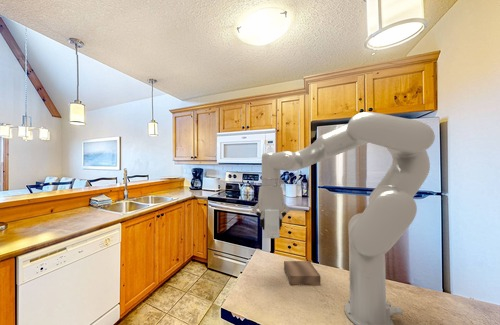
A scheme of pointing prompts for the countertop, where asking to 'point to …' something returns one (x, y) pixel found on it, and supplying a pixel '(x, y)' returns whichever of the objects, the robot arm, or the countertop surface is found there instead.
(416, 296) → the countertop surface
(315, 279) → the walnut block
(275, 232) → the small box
